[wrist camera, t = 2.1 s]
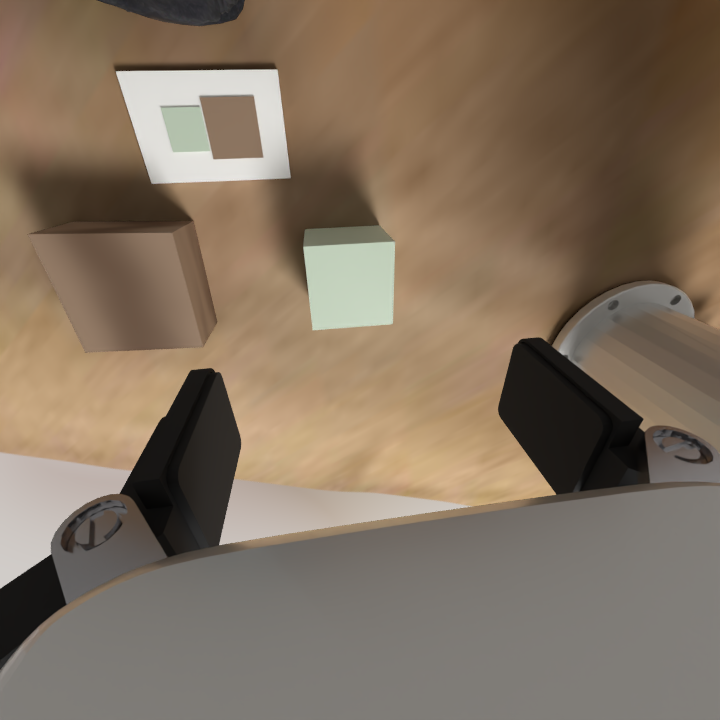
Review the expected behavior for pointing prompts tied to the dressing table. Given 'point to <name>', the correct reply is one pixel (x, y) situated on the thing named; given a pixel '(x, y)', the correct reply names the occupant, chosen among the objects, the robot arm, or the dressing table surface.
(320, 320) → the sage cube
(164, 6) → the figurine
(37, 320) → the dressing table surface
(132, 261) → the walnut base
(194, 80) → the tile
